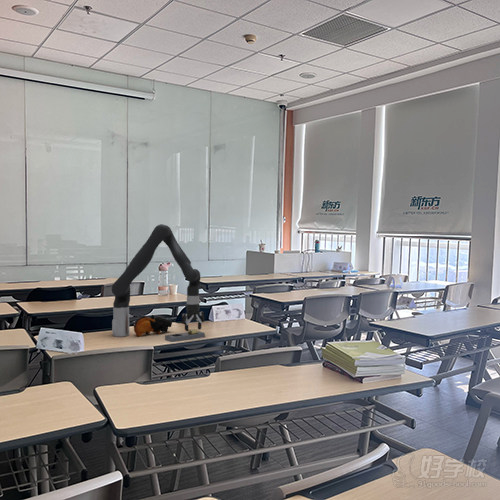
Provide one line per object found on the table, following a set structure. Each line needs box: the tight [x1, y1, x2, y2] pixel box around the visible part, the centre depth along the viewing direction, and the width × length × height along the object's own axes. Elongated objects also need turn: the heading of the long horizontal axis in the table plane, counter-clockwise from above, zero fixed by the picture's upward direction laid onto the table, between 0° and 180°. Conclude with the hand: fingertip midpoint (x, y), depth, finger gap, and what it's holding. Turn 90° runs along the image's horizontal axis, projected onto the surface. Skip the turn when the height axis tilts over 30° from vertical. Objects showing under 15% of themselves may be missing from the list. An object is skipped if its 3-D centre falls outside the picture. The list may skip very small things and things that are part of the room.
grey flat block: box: [164, 330, 206, 343], centre depth 289 cm, size 22×8×2 cm, turn 128°
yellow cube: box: [187, 328, 199, 334], centre depth 292 cm, size 4×4×4 cm
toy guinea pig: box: [133, 314, 173, 338], centre depth 301 cm, size 8×23×15 cm, turn 127°
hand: (193, 330), depth 292 cm, fingers open, 8 cm apart
